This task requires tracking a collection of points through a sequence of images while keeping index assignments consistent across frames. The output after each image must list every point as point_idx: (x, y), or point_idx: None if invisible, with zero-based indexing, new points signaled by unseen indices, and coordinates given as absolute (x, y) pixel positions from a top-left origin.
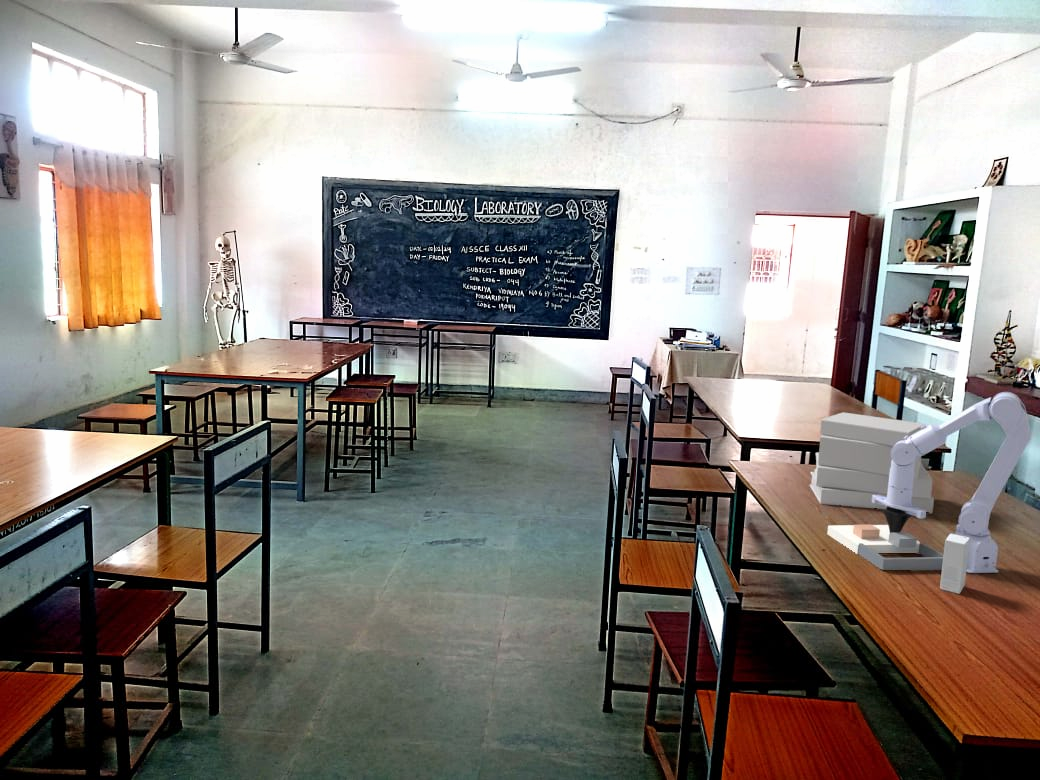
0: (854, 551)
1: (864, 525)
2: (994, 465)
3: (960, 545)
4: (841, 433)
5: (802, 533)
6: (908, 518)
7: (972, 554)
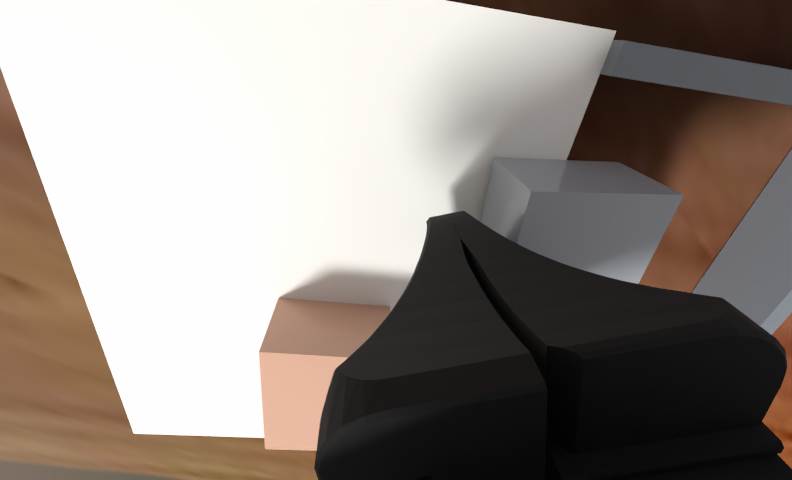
0: None
1: (286, 404)
2: None
3: None
4: None
5: (166, 459)
6: (633, 288)
7: None
